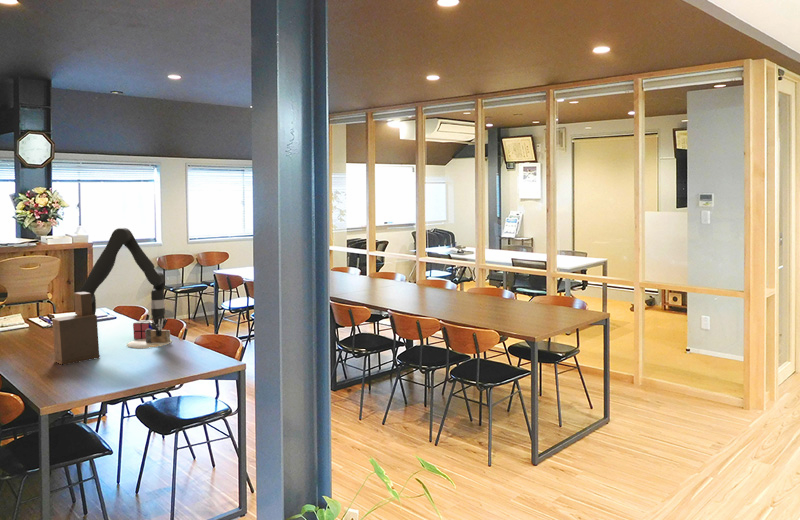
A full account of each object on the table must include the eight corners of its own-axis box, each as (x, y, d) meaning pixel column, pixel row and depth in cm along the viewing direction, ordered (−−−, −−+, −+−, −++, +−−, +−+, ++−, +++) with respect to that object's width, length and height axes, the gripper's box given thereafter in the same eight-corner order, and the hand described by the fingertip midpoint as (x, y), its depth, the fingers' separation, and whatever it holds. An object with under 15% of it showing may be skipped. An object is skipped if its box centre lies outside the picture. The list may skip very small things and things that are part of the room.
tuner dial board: (131, 350, 353) (131, 349, 353) (122, 342, 374) (122, 341, 373) (177, 344, 368) (177, 342, 367) (165, 336, 388) (165, 335, 388)
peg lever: (144, 342, 369) (143, 329, 368) (148, 340, 373) (147, 328, 372) (168, 342, 367) (167, 330, 366) (171, 341, 371) (171, 328, 370)
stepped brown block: (89, 353, 347) (85, 291, 344) (99, 357, 338) (95, 293, 334) (52, 360, 334) (47, 295, 330) (61, 365, 324) (57, 298, 320)
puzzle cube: (149, 339, 382) (149, 323, 381) (133, 339, 382) (132, 323, 381) (156, 335, 392) (155, 319, 391) (140, 335, 392) (139, 320, 391)
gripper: (154, 309, 357) (155, 339, 358) (171, 305, 369) (171, 334, 370) (144, 308, 359) (145, 338, 361) (161, 305, 372) (162, 333, 373)
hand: (158, 336), depth 366 cm, fingers closed
